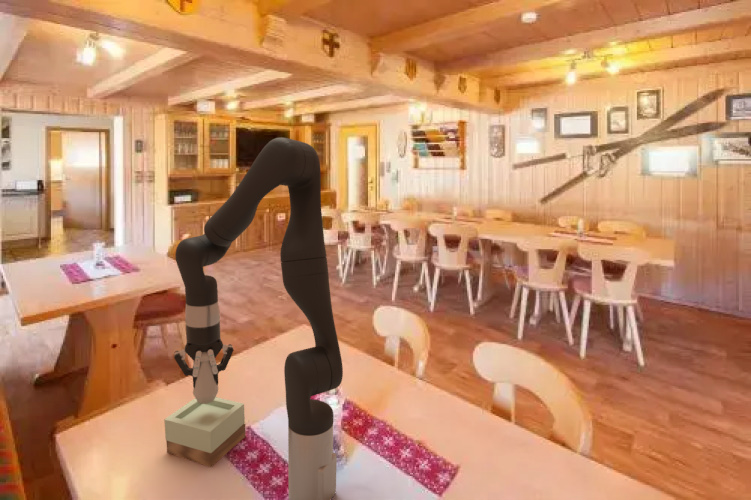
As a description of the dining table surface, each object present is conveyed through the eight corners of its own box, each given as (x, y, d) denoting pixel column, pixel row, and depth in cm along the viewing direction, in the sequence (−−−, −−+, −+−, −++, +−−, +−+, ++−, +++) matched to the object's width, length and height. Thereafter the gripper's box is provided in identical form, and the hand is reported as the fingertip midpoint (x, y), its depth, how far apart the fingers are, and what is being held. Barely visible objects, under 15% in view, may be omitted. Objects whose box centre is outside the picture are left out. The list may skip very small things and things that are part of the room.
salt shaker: (210, 407, 109) (208, 356, 107) (188, 404, 111) (185, 353, 108) (223, 395, 115) (221, 346, 112) (202, 392, 116) (200, 343, 114)
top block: (244, 423, 118) (244, 403, 117) (210, 453, 106) (210, 431, 105) (202, 412, 122) (201, 393, 121) (165, 440, 110) (164, 419, 109)
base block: (245, 438, 119) (245, 424, 118) (210, 468, 107) (209, 453, 106) (205, 425, 123) (204, 412, 123) (167, 454, 112) (166, 439, 111)
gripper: (232, 312, 115) (234, 376, 118) (170, 318, 109) (174, 385, 113) (235, 322, 108) (237, 390, 111) (169, 329, 103) (174, 400, 106)
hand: (205, 387), depth 112 cm, fingers closed on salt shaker, 3 cm apart
